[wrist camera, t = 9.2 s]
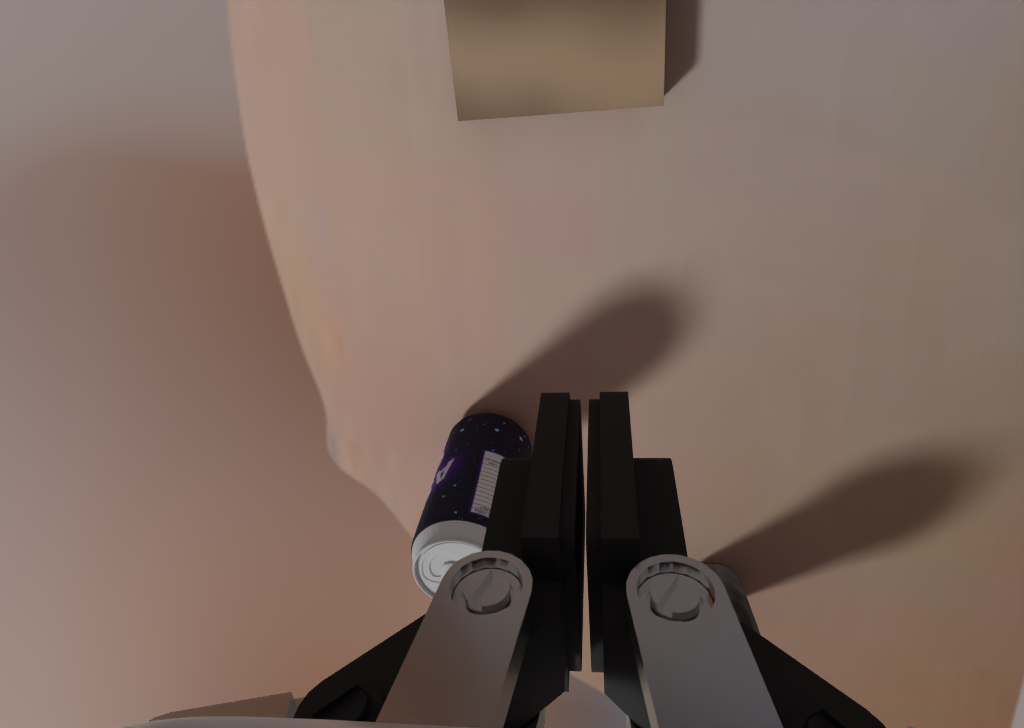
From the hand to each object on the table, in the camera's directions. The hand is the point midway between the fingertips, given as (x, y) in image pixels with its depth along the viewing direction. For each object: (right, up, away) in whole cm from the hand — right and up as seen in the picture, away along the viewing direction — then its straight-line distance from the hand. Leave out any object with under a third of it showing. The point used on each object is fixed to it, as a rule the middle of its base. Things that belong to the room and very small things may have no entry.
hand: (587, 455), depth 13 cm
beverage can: (-3, -3, +31) cm, 32 cm away
